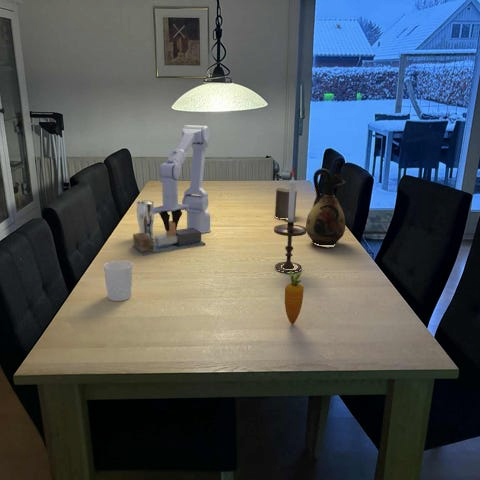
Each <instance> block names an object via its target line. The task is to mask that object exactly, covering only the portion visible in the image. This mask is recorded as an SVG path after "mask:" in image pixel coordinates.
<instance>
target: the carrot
mask: <svg viewBox="0 0 480 480" xmlns="http://www.w3.org/2000/svg"><path fill="white" fill-rule="evenodd" d="M289 272H290V275H289V276H290V281H291V282H290V283H287V284H286V285H285V288H284V308H285V313H286V316H287V319H288V321H289V323H290V324H291V325H293V324H296V321H297V319H298V317H299V315H300V313H301V310H302V305H303V300H304V299H303V298H304V292H305V291H304V289H305V288H304V286H303V285H302V284H300V283H301V282H302V279H299V278H300V277H301V275H302V273H301V272H298V273H296V274H295V273H292V271H289ZM294 274H295V275H294Z"/></svg>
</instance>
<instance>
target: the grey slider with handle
mask: <svg viewBox="0 0 480 480" xmlns="http://www.w3.org/2000/svg"><path fill="white" fill-rule="evenodd" d="M165 231H166V230H165ZM153 241H154V242H155V243H156V244H157V245H158V246H160V245H166V244H173V243H179V242H178V235H177V234H176V229H175V222H174V221H172V220H169V231H166V233H164V234H158V235H154V239H153Z"/></svg>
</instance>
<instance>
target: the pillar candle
mask: <svg viewBox="0 0 480 480" xmlns="http://www.w3.org/2000/svg"><path fill="white" fill-rule="evenodd" d="M275 190H276V191H275V192H276V193H275V209H274V217H275V216H276V217H278V218H288V210H289V190H290V187H288V186H286V187H277V188H276V189H275ZM297 193H298V189H296V188H295V203H294V217H295V218H296V210H297V197H298V196H297V195H298V194H297Z"/></svg>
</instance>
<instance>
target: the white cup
mask: <svg viewBox="0 0 480 480" xmlns="http://www.w3.org/2000/svg"><path fill="white" fill-rule="evenodd" d="M132 268H133V263H132V262H131V261H129V260H123V259H122V260H120V259H119V260H112V261H108V262H106V263H104V264H103V271H104V278H105V286H106V292H107V298H108V300H110V301H113V302H123V301H127V300H129V299H130V298H131V297H132V286H133V285H132V284H133V283H132V282H133V269H132Z"/></svg>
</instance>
